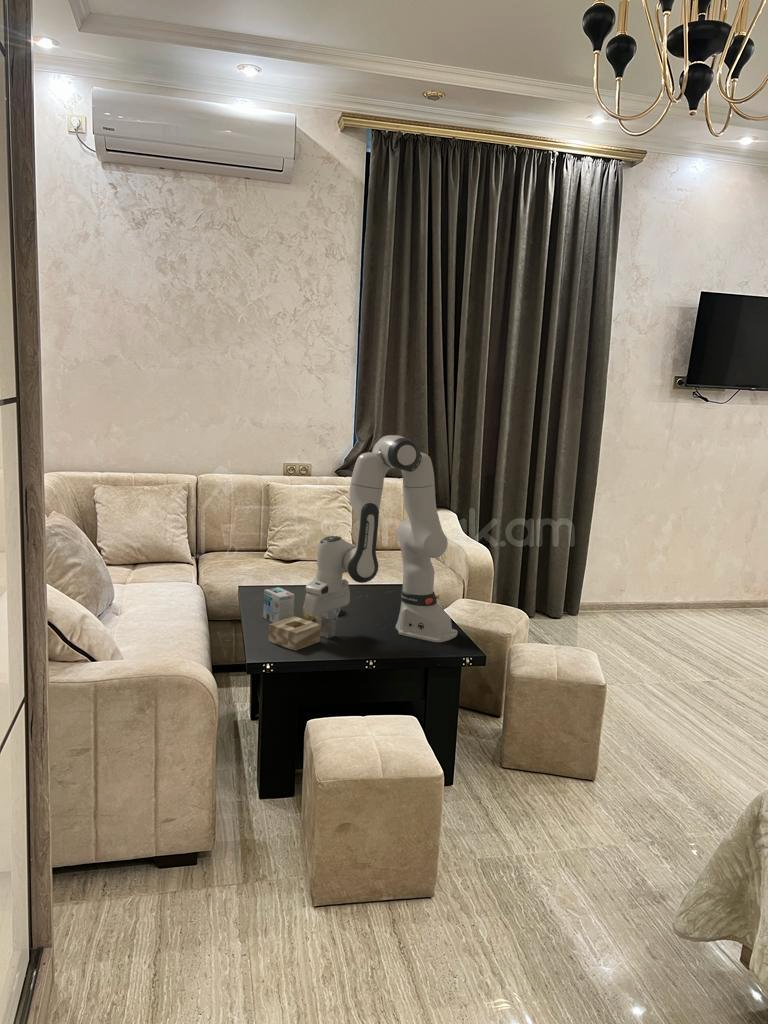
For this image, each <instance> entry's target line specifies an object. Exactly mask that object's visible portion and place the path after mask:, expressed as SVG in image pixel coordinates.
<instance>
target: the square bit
mask: <svg viewBox="0 0 768 1024" xmlns="http://www.w3.org/2000/svg"><path fill="white" fill-rule="evenodd" d="M321 619H322V620H323V625H321V626H320V638H321V637H322V638H324V639H329V638H333V637H335V636H336V623H337V622H336V621H337V620H336V608H334V609H331V610H328V612H325V613H322V616H321Z"/></svg>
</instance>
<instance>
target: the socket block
mask: <svg viewBox="0 0 768 1024" xmlns="http://www.w3.org/2000/svg"><path fill="white" fill-rule="evenodd" d="M320 640H321V636H320V624H317V623H314V622H311V621H308V620H305V619H303V618H301V617H298V616H295V615H294V616H293V617H290V618H287V619H284V620H281V621H278V622H275V623H272V622H271V623H270V624H268V642H269V643H272V644H275V645H278V646H280V647H284V648H287V649H289V650H293V651H298V650H300V649H301V650H302V649H304V648H306V647H309V646H311V645H315V644H317V643H319V642H320Z"/></svg>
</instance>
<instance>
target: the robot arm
mask: <svg viewBox="0 0 768 1024" xmlns="http://www.w3.org/2000/svg"><path fill="white" fill-rule="evenodd" d="M390 469H396V470H399V471H400V472H401V474H402V475H401V476H402V492H403V493H402V494H403V495H402V496H403V507H404V509H405V512H406V513H407V517H408V519H404V520H403V521H401V522H400V523H399V524H398V526H397V528H396V531H395V532H396V534H395V535H396V538H397V540H398V544H399V547H400V552H401V559H402V566H403V569H402V570H403V572H402V588H401V591H400V609H399V614H398V618H397V622H396V624H395V629H396V630H397V631H398V635H399V636H400V635H401V636H405V637H409V638H415V639H419V640H424V641H428V642H433V643H444V642H447V641H450V640H452V639H454V638H456V637H457V636H458V630H457V629H454V628H452V627H453V626H452V619H451V616H450V615H449V614H448V613H447V612H446V611H445V610H444V609H443V608H442V606H440V605H439V604H438V600H439V599H440V595H439V594H438V595H436V594H435V591H434V587H435V568H434V565H433V564H432V563H433V562H432V559H437V558H440V557H442V556H443V555H444V553H445V552H446V551H447V548H448V538H447V535H446V534H445V532H444V530H443V528H442V525H441V520H440V517H439V513H438V510H437V504H436V502H437V501H436V487H435V486H436V485H435V484H436V483H435V472H434V466H433V462H432V459H431V457H430V456H429V455H428V454H426V453H424V452H420V451H419V448H418V446H417V445H416V443H415V442H414V441H412V439H409V438H407V437H404V436H401V435H397V434H395V435H393V434H390V433H389V434H383V435H381V436H378V438H376V439H375V441H374V442H373V443H372V445H371V447H370V449H369V450H368V452H363V453H361V454H360V455H359V456H358V457H357V458H356V462H355V463H354V467H353V470H352V473H351V480H350V483H349V484H350V485H349V503H350V505H351V507H352V510H353V511H354V513H355V516H356V518H357V519H356V520H357V522H358V523H357V524H358V531H357V540H356V544H353V543H350V542H349V541H347V540H345V539H343V537H341V536H338V535H333V536H332V535H331V536H327V537H324V538H322V539H321V540H320V542H319V543H318V547H317V554H316V555H317V556H316V564H317V570H316V574H315V575H316V577H315V578H313V580H311V581H310V582H309V583H308V584H307V585H306V586H305V592H306V594H305V598H304V604H305V613H306V614H307V615H309V616H315V618H316V620H317V624H320V626H321V625H323V620H322V619H321V616H322V613H325V612H328V610H331V609H334V608H336V621H337V620H338V619H339V614H340V612H341V609H342V608H343V607H346V606H348V605H349V604H350V602H351V592H350V587H349V581H348V580H347V579H345V578H343V574H345V573H347V574H349V576H350V578H351V579H352V580H353V581H355V582H356V583H361V584H364V583H365V584H366V583H369V582H370V581H372V580H373V579H374V578H375V577H376V576H377V574H378V571H379V561H378V558H377V550H376V549H377V543H378V542H377V541H378V530H379V518H380V517H379V516H380V508H381V501H382V496H383V492H384V491H383V490H384V484H385V483H384V481H385V477H386V475H387V473H388V471H389V470H390Z"/></svg>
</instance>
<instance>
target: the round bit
mask: <svg viewBox="0 0 768 1024" xmlns="http://www.w3.org/2000/svg"><path fill="white" fill-rule="evenodd" d="M302 604H303V605H302V619H305V620H308V621H311V622H314V623H317V620H316V618H315V616H309V615H307V614H306V613H305V603H302Z"/></svg>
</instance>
